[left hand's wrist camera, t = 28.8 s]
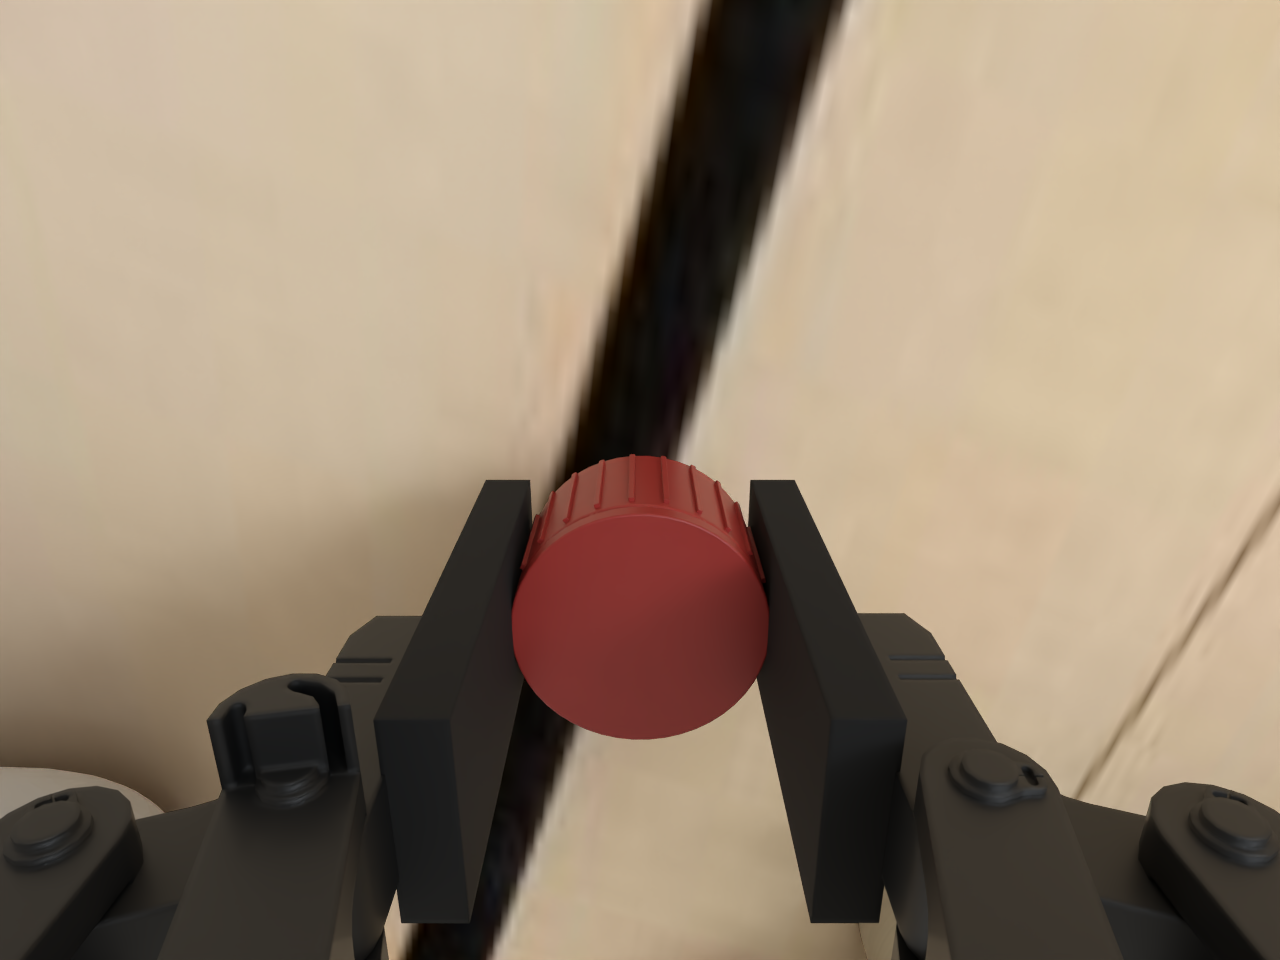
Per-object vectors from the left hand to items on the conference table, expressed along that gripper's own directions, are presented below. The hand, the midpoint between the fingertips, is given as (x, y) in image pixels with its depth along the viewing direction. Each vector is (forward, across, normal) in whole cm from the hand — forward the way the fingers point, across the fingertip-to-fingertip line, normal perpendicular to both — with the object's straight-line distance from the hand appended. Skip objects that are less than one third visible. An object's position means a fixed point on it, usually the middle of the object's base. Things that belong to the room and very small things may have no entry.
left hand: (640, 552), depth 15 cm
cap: (-2, 0, 0) cm, 2 cm away
